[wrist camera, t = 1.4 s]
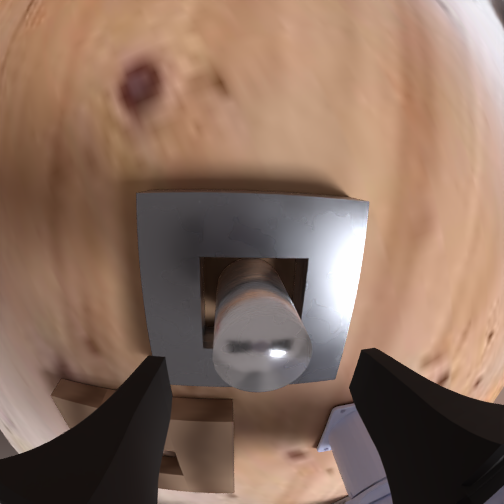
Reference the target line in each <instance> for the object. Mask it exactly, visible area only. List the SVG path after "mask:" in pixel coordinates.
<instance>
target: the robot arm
mask: <svg viewBox="0 0 504 504" xmlns="http://www.w3.org/2000/svg"><path fill="white" fill-rule="evenodd" d="M349 389H350V392H351V395H352V398H353V401H354V403H353V404H348V405H342V406H337V407H335V408H333V409H332V411H331V414H330V417H329V419H328V422H327V425H326V427H325V430H324V432H323V435H322V437H321V440H320V442H319V444H318V447H317V451H318V452H323V451H328V450H332V452H333V455H334V458H335V460H336V463H337V466H338V469H339V471H340V474H341V477H342V479H343V482H344V485H345V488H346V490H347V493H348V496H349V499H350V500H349V501H347V502H345V504H504V405H500V404H494V403H489V402H484V401H480V400H477V399H473V398H470V397H467V396H464V395H461V394H458V393H456V392H453V391H451V390H448V389H446V388H444V387H442V386H440V385H438V384H436V383H434V382H432V381H430V380H428V379H426V378H425V377H423V376H421V375H419V374H418V373H416V372H414V371H413V370H411V369H409V368H408V367H406V366H404V365H403V364H401V363H400V362H398V361H396V360H395V359H393V358H392V357H390V356H388V355H387V354H385V353H383V352H382V351H380V350H378V349H376V348H370V349H364V350H361V353H360V356H359V360H358V363H357V366H356V369H355V372H354V375H353V378H352V381H351V384H350V387H349ZM172 397H173V396H172V391H171V386H170V381H169V375H168V370H167V364H166V358H165V357H161V356H148V357H147V358H146V359H145V360H144V361H143V362H142V363H141V364H140V365H139V367H138V368H137V369H136V370H135V371H134V372H133V373H132V374H131V375H130V377H129V378H128V379H127V380H126V381H125V382H124V383H123V384H122V385H121V386H120V387H119V388H118V389H117V390H116V391H115V392H114V393H113V394H112V395H111V396H110V397H109V398H108V399H107V400H106V401H105V402H104V403H103V404H102V405H101V406H100V407H98V408H97V409H96V410H95V411H94V412H93V413H91V414H90V415H89V416H88V417H86V418H85V419H84V420H83V421H81V422H80V423H79V424H77V425H76V426H74V427H73V428H71V429H70V430H68V431H66V432H65V433H63V434H61V435H60V436H58V437H56V438H55V439H53V440H51V441H49V442H47V443H45V444H43V445H41V446H39V447H36V448H34V449H32V450H29V451H27V452H24V453H21V454H18V455H15V456H11V457H8V458H4V459H0V503H1V504H157V497H158V479H159V471H160V465H161V460H162V456H163V451H164V446H165V442H166V437H167V432H168V428H169V423H170V418H171V408H172Z"/></svg>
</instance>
